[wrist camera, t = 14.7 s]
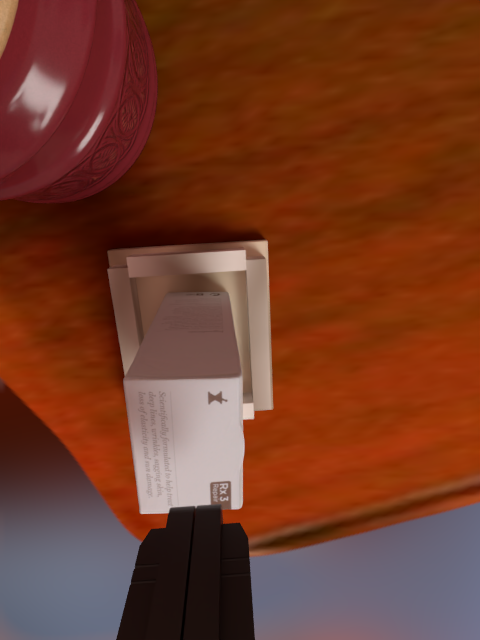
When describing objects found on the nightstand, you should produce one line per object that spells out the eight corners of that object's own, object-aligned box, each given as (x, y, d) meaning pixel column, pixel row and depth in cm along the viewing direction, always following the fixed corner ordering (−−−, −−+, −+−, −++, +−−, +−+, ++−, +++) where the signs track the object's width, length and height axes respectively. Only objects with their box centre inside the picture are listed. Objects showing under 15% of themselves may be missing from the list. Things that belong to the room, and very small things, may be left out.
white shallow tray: (265, 239, 24) (270, 243, 22) (271, 402, 28) (276, 420, 25) (111, 248, 24) (99, 253, 21) (137, 412, 27) (129, 431, 25)
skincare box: (163, 291, 24) (108, 372, 12) (233, 290, 24) (244, 368, 12) (170, 378, 26) (127, 520, 14) (234, 376, 26) (244, 514, 14)
